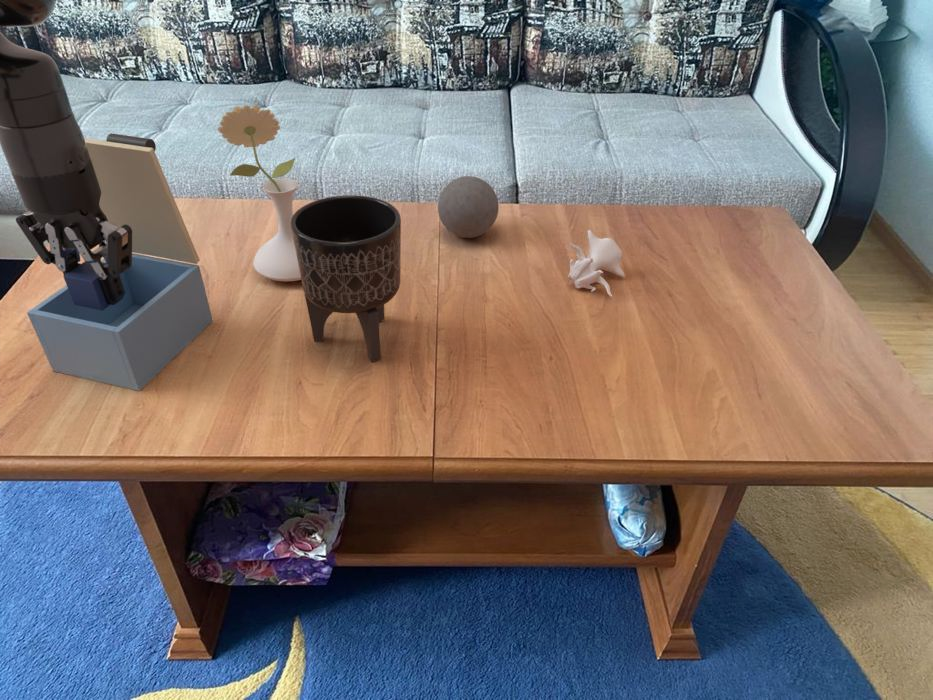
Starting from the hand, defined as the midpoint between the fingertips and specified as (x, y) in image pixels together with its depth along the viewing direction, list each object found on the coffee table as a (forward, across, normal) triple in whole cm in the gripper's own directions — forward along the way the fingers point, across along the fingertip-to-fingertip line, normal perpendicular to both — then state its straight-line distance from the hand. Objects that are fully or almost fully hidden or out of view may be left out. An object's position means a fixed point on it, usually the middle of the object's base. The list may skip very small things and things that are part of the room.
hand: (99, 297), depth 82 cm
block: (0, 0, 0) cm, 0 cm away
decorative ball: (+9, +32, +46) cm, 57 cm away
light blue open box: (+9, 0, +3) cm, 10 cm away
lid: (-8, 0, +9) cm, 12 cm away
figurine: (+9, +55, +38) cm, 67 cm away
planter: (+9, +27, +13) cm, 31 cm away
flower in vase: (+9, +9, +27) cm, 30 cm away
